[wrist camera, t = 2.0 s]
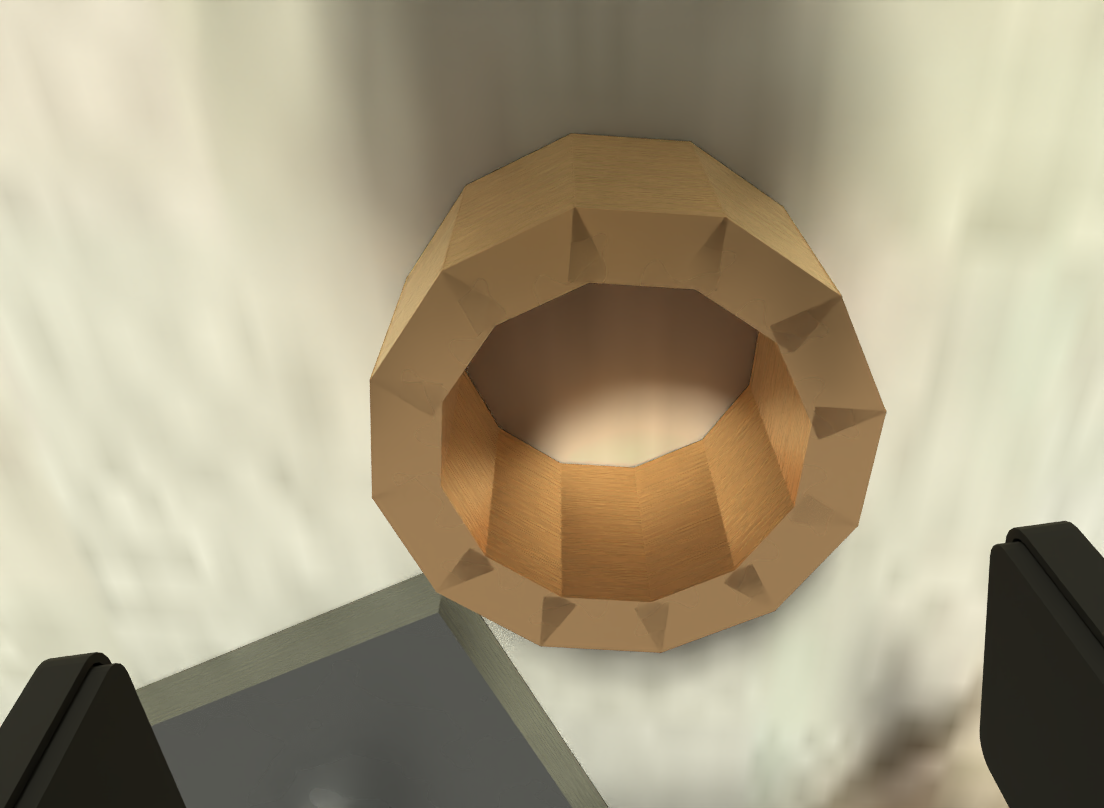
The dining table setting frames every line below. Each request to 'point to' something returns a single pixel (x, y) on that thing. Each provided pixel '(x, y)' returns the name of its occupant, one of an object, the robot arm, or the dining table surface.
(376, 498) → the copper ring
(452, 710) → the block
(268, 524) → the dining table surface
